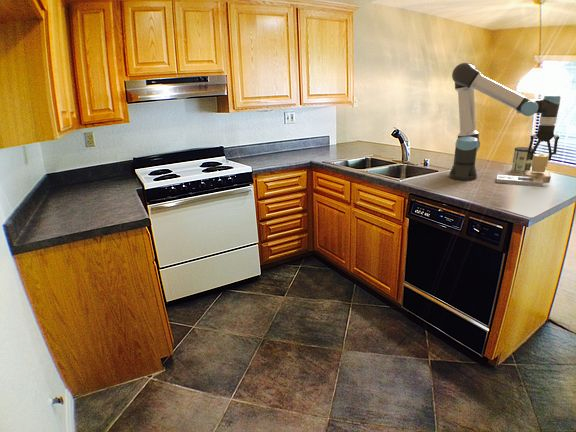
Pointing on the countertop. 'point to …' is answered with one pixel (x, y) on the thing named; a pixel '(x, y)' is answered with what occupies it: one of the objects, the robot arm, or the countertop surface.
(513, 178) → the beige panel with cutout
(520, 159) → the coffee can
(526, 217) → the countertop surface
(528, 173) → the pedestal
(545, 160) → the cube with dome knob
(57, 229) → the countertop surface
